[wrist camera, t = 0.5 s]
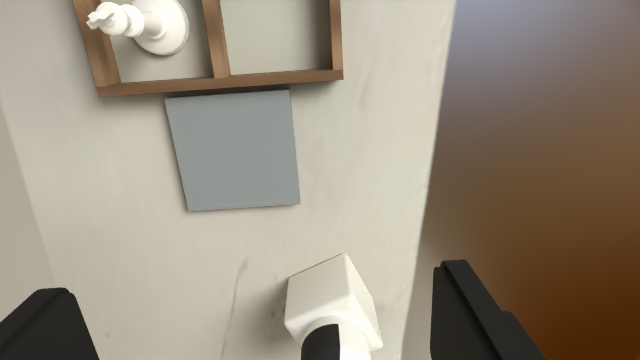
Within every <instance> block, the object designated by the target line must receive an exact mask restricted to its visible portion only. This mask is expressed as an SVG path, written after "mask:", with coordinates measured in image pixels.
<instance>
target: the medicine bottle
mask: <svg viewBox="0 0 640 360" xmlns="http://www.w3.org/2000/svg"><path fill="white" fill-rule="evenodd" d="M284 325H285V327H286V328H287V330H288V331H289V332H290V334H291V335H292V337H293V338H294V339H295V341H296V342H297V344H298V345H299V346H300V348H301V360H371V356H370V352H372V351H375V350H377V349H380V348H382V346H383V343H382V339H381V334H380V330H379V325H378V321H377V317H376V312H375V308H374V303H373V299H372V297H371V295H370V293H369V292H368V290H367V288H366V287H365V285H364V283H363V281H362V280H361V278H360V276H359V274H358V273H357V271H356V269H355V267H354V266H353V264H352V262H351V261H350V259H349V257H348V255H347V254H346V253H343V254H341V255H338V256H336V257H334V258H332V259H330V260H327V261H325V262H323V263H321V264H319V265H316V266H314V267H312V268H310V269H307V270H305V271H303V272H301V273H299V274H296V275H294V276H292V277H290V278H289V280H288V289H287V298H286V307H285V316H284Z"/></svg>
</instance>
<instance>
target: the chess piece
mask: <svg viewBox="0 0 640 360" xmlns="http://www.w3.org/2000/svg"><path fill="white" fill-rule="evenodd" d="M88 17H89V18H90V20H88V21H87V22H86V23H87V24H88V26H89V27H90V28H91V29H96V28H97V27H99V28H100V29H101V30H102V31H103V32H104V33H106V34H108V35H111V36H118V35H121V34H123V35H124V36H127V37H133V38H134V39H135V41H136V42H137V43H138V44H139V45H140V46H141V47H142V48H143V49H145V50H147V51H148V52H151V53H154V54H157V55H171V54H174V53H176V52H178V51H179V50H181V49H182V48H183V46H184V45H185V44H186V42H187V40H188V37H189V30H190V28H189V20H188V17H187V14H186V12H185V10H184V9H183V7H182V6H181V5H180V3H179V2H178V1H176V0H134V1H133V2H132V4H131V5H129V4H123V5H120V6H119V5H117V4H115V3H113V2H104V3H101V4H100V5H99V6H98V7H97V9H96V11H95V12H92V13H91V14H89V15H88Z"/></svg>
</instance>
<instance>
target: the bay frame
mask: <svg viewBox="0 0 640 360" xmlns="http://www.w3.org/2000/svg"><path fill="white" fill-rule="evenodd" d="M72 1H73V5H74V8H75V12H76V15H77V19H78V22H79V26H80V30H81V33H82V37H83V40H84V44H85V47H86V51H87V55H88V58H89V62H90V65H91V69H92V72H93V76H94V80H95V83H96V87H97V90H98V94H99V97H104V96H118V95H132V94H146V93H160V92H174V91H188V90H202V89H217V88H231V87H245V86H259V85H273V84H287V83H301V82H315V81H330V80H343V57H342V34H341V10H340V0H328V4H329V22H330V41H331V60H332V68H326V69H312V70H298V71H284V72H270V73H256V74H242V75H231V74H230V67H229V60H228V54H227V47H226V40H225V34H224V27H223V20H222V14H221V7H220V0H202V6H203V12H204V18H205V24H206V30H207V36H208V42H209V48H210V54H211V60H212V66H213V72H214V76H213V77H199V78H185V79H171V80H157V81H143V82H129V83H121V80H120V76H119V73H118V69H117V65H116V61H115V57H114V53H113V49H112V45H111V41H110V37H109V35H108V34H106V33H104V32H103V31H102V30H101V29H100V28H99V27H97V28H96V29H91V28H90V27H89V26H88V24H87V23H86V22H87V21H88V20H90V18H89V17H88V15H89V14H91V13H92V12H95V11H96V9H97V7H98V6H99V5H100V4H101V2H100V0H72Z"/></svg>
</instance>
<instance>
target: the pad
mask: <svg viewBox="0 0 640 360" xmlns="http://www.w3.org/2000/svg"><path fill="white" fill-rule="evenodd" d="M164 101H165V105H166V110H167V115H168V119H169V124H170V128H171V133H172V138H173V142H174V147H175V151H176V156H177V161H178V165H179V170H180V174H181V179H182V184H183V188H184V193H185V197H186V202H187V207H188V211H189V212H190V211H204V210H219V209H234V208H249V207H264V206H279V205H293V204H300V193H299V182H298V171H297V161H296V150H295V140H294V129H293V119H292V108H291V98H290V89H275V90H261V91H247V92H233V93H219V94H205V95H190V96H176V97H167V98H165V99H164Z"/></svg>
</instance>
